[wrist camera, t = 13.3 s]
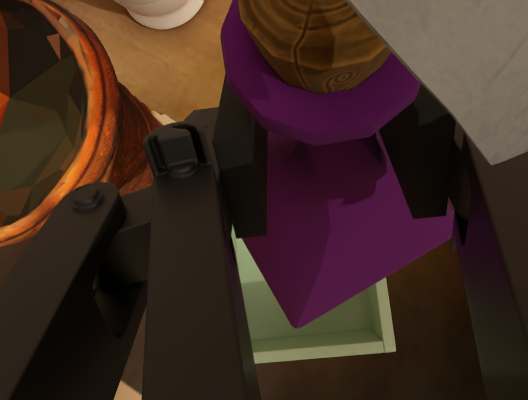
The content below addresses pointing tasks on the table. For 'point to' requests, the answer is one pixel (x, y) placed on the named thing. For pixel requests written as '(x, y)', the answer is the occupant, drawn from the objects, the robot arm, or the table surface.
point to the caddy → (319, 330)
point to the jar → (161, 11)
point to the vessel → (61, 116)
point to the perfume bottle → (363, 126)
